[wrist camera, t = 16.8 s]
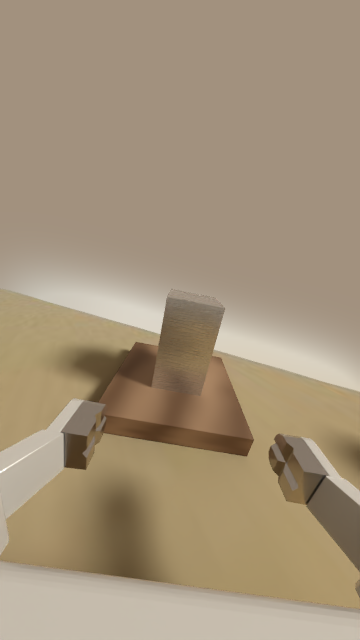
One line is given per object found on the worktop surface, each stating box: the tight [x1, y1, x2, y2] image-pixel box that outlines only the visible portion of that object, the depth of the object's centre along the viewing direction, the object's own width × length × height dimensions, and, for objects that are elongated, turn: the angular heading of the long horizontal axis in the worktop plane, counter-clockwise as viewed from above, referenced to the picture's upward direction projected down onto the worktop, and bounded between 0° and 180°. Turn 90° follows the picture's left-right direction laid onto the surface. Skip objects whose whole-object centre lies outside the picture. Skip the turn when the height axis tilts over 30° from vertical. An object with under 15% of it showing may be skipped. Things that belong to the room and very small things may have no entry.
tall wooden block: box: [152, 289, 225, 396], centre depth 20 cm, size 5×5×10 cm
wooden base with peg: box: [98, 342, 254, 456], centre depth 21 cm, size 14×14×7 cm
